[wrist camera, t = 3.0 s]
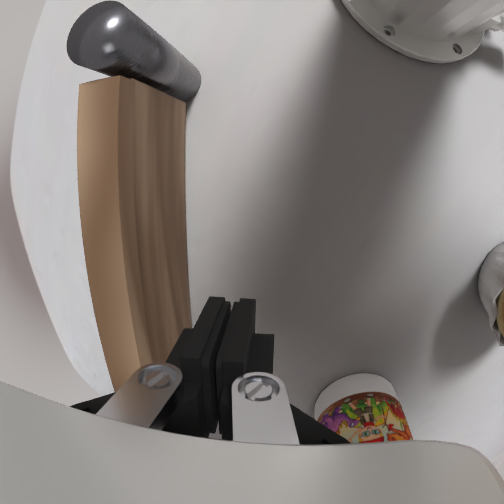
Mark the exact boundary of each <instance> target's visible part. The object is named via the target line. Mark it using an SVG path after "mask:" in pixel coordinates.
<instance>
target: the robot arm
mask: <svg viewBox="0 0 504 504" xmlns="http://www.w3.org/2000/svg"><path fill="white" fill-rule="evenodd" d="M342 2H343V4H344V6H345V7H346V8H347V10H348V11H349V12H350V14H351V15H352V17H353V18H354V19H355V20H356V21H357V22H358V23H359V24H360V25H361V26H362V27H363V28H364V29H365V30H366V31H368V32H369V33H370V34H371V35H373V36H374V37H375V38H376V39H377V40H379V41H381V42H382V43H384V44H385V45H387V46H388V47H390V48H392V49H393V50H396V51H398V52H400V53H402V54H404V55H406V56H408V57H411V58H415V59H418V60H421V61H425V62H431V63H451V62H455V61H458V60H461V59H463V58H465V57H467V56H469V55H471V54H472V53H473V52H474V51H475V50H477V48H478V47H479V45H480V44H481V42H482V40H483V36H484V33H485V30H487V29H491V30H493V31H499V30H502V31H504V0H342ZM385 32H386V33H388V34H389V36H388V35H387V34H386V33H385ZM255 307H256V300H255V299H242V298H241V299H240V302H234V305H233V308H232V311H231V304H230V302H228V301H225V298H224V297H209V299H208V300H207V302H206V304H205V306H204V308H203V310H202V312H201V314H200V316H199V318H198V320H197V322H196V324H195V326H194V328H193V329H191V328H184V329H183V331H182V333H181V335H180V336H179V338H178V340H177V342H176V344H175V345H174V347H173V349H172V351H171V353H170V354H169V356H168V358H167V360H166V362H165V363H164V362H155V363H150V364H146V365H144V366H142V367H140V368H139V369H138V370H136V371H135V372H134V373H133V375H132V376H131V377H130V378H129V379H128V380H127V381H126V382H125V383H124V384H123V385H122V386H121V388H120V389H119V390H118V391H117V392H115V393H112V394H109V395H105V396H102V397H99V398H95V399H92V400H89V401H85V402H82V403H78V404H75V405H72V406H70V407H69V406H66V405H63V404H60V403H57V402H54V401H52V400H49V399H46V398H44V397H41V396H38V395H36V394H33V393H30V392H28V391H25V390H23V389H20V388H17V387H15V386H12V385H10V384H7V383H4V382H1V381H0V504H504V481H503V479H502V477H501V476H500V474H499V473H498V471H497V470H496V468H495V467H494V466H493V464H492V463H491V462H490V461H489V460H488V459H487V458H486V457H485V456H484V455H483V454H482V453H481V452H479V451H478V450H476V449H474V448H472V447H469V446H466V445H462V444H458V443H452V442H444V441H437V440H402V441H387V442H372V443H351V442H349V441H348V440H347V439H346V438H344V437H342V436H340V435H339V434H337V433H336V432H334V431H332V430H331V429H329V428H327V427H326V426H324V425H323V424H321V423H319V422H318V421H316V420H315V419H313V418H312V417H310V416H308V415H307V414H305V413H304V412H302V411H301V410H299V409H298V408H296V407H295V406H293V405H292V404H290V403H289V399H288V395H287V391H286V387H285V385H284V383H283V381H282V380H281V379H279V378H278V377H276V376H274V375H272V374H273V352H274V334H255ZM218 420H219V433H220V434H222V440H221V439H212V438H208V437H209V433H215V432H216V428H217V424H218Z"/></svg>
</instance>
